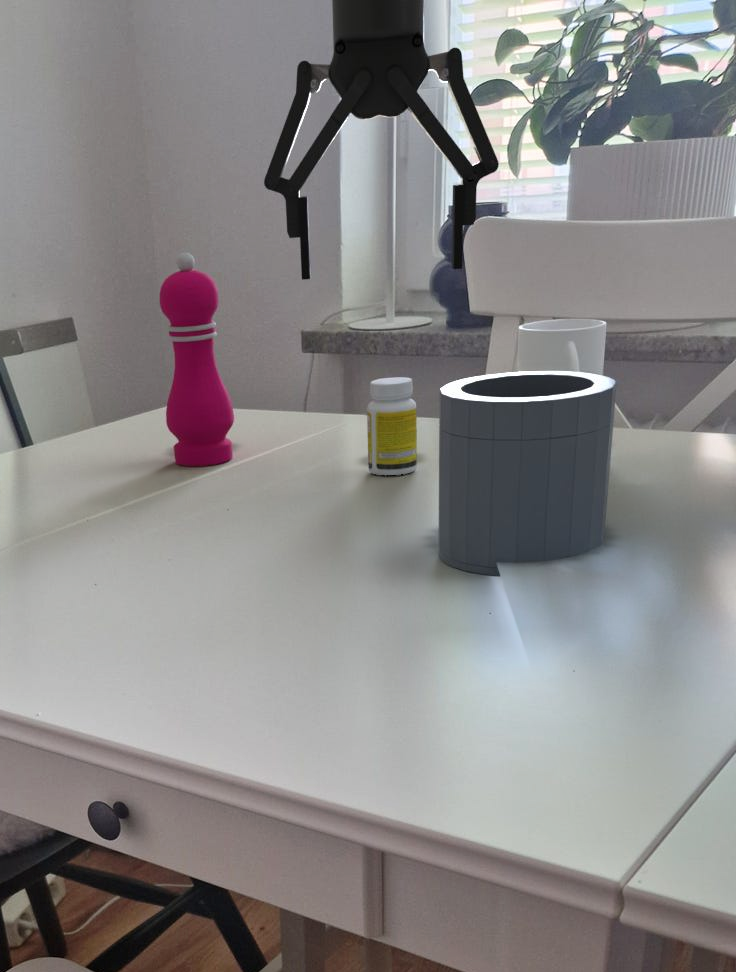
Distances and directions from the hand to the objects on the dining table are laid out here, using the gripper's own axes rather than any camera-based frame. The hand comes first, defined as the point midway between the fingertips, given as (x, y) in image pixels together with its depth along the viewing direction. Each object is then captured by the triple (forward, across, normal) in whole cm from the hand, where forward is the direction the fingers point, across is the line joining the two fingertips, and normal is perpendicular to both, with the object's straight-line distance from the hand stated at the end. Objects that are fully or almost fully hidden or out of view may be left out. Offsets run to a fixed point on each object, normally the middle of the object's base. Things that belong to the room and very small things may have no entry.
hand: (381, 273), depth 106 cm
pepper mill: (+18, -19, +10) cm, 28 cm away
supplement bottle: (+18, +1, 0) cm, 18 cm away
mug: (+18, +17, +1) cm, 25 cm away
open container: (+18, +10, -29) cm, 35 cm away
